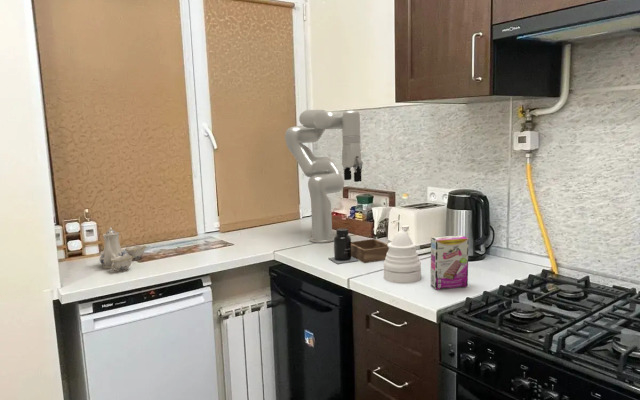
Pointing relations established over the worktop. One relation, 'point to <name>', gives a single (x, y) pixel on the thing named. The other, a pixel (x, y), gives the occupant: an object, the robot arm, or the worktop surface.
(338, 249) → the supplement bottle
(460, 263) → the candy bar box
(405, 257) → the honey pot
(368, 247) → the open-top box
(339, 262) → the grey mat
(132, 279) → the worktop surface
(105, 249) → the chinaware
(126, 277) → the worktop surface
